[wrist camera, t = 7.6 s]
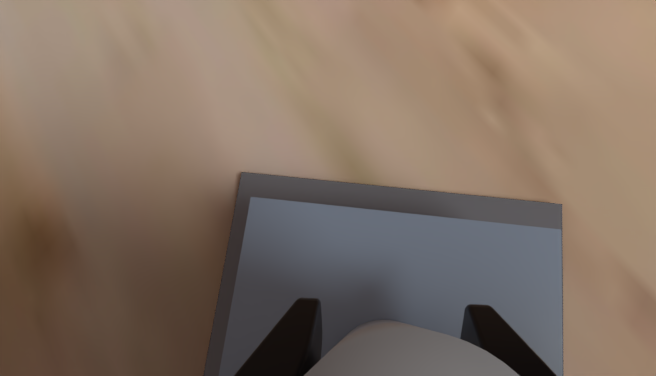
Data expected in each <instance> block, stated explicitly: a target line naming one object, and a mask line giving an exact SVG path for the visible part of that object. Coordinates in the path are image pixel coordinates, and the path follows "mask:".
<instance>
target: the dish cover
mask: <svg viewBox="0 0 656 376" xmlns="http://www.w3.org/2000/svg"><path fill="white" fill-rule="evenodd" d="M301 297H304V298H318V299H319V300H320V302H321V314H322V350H321V360H320V361H319V362H318V363H317V364H315V365H314V366H313V367H312V368H311V369H310V370H309V371H308V372H307V373H306V374H305V375H304V376H520V375H518V374H517V373H516V372H515V371H514V370H512V369H511V368H510V367H509V366H508V365H506V364H505V363H504V362H502V361H501V360H499V359H498V358H496V357H495V356H493V355H492V354H490V353H489V352H487V351H486V350H484V349H481V348H479V347H477V346H475V345H473V344H471V343H469V342H467V341H464V340H462V339H460V337H461V330H462V324H463V317H464V311H465V308H466V306H467V305H469V304H482V305H490V306H491V307H493V308H494V309H495V310H496V312H497V313H498V314H499V315H500V316H501V317H502V318H503V319H504V320H505V321H506V322H507V323H508V324H509V325H510V326H511V327H512V328H513V330H514V331H515V332H516V333H517V334H518V335H519V336H520V337H521V338H522V339H523V340H524V341H525V342H526V343H527V344H528V345H529V346H530V348H531V349H532V350H533V351H534V352H535V353H536V354H537V355H538V356H539V357H540V358H541V359H542V360H543V361H544V362H545V363H546V364H547V366H548V367H549V368H550V369H551V370H552V371H553V372H554V373H555V374H556V375H557V376H563V339H562V236H561V229H552V228H542V227H533V226H523V225H514V224H504V223H495V222H485V221H476V220H466V219H457V218H447V217H438V216H429V215H419V214H410V213H400V212H391V211H381V210H372V209H362V208H353V207H343V206H334V205H324V204H315V203H305V202H296V201H287V200H277V199H268V198H258V197H251V199H250V204H249V210H248V216H247V221H246V227H245V232H244V238H243V243H242V249H241V254H240V260H239V265H238V271H237V276H236V282H235V287H234V293H233V299H232V304H231V310H230V315H229V321H228V326H227V332H226V337H225V343H224V348H223V354H222V359H221V365H220V370H219V376H234V375H235V374H236V372H237V371H238V370H239V369H240V367H241V366H242V365H243V364H244V363H245V361H246V360H247V359H248V358H249V357H250V355H251V354H252V353H253V352H254V351H255V349H256V348H257V347H258V346H259V344H260V343H261V342H262V341H263V340H264V338H265V337H266V336H267V335H268V334H269V332H270V331H271V330H272V329H273V327H274V326H275V325H276V324H277V323H278V321H279V320H280V319H281V318H282V317H283V315H284V314H285V313H286V312H287V310H288V309H289V308H290V307H291V306H292V304H293V303H294V302H295V301H296V300H297V299H298V298H301Z"/></svg>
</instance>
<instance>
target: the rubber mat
mask: <svg viewBox="0 0 656 376" xmlns="http://www.w3.org/2000/svg"><path fill="white" fill-rule="evenodd" d="M251 197H258V198H268V199H277V200H287V201H296V202H305V203H315V204H324V205H334V206H343V207H353V208H362V209H372V210H381V211H391V212H400V213H410V214H419V215H429V216H438V217H447V218H457V219H466V220H476V221H485V222H495V223H504V224H514V225H523V226H533V227H542V228H552V229H561V236H562V204H555V203H545V202H535V201H525V200H515V199H505V198H495V197H485V196H475V195H465V194H455V193H445V192H435V191H425V190H415V189H405V188H395V187H385V186H375V185H365V184H355V183H345V182H335V181H325V180H315V179H305V178H295V177H285V176H275V175H265V174H255V173H245V172H242V173H241V178H240V184H239V189H238V194H237V200H236V205H235V210H234V216H233V221H232V226H231V232H230V237H229V242H228V248H227V253H226V258H225V264H224V269H223V274H222V280H221V285H220V290H219V296H218V301H217V306H216V312H215V317H214V322H213V328H212V333H211V338H210V344H209V349H208V354H207V360H206V365H205V370H204V376H219V370H220V365H221V359H222V354H223V348H224V343H225V337H226V332H227V326H228V321H229V315H230V310H231V304H232V299H233V293H234V287H235V282H236V276H237V271H238V265H239V260H240V254H241V249H242V243H243V238H244V232H245V227H246V221H247V216H248V210H249V204H250V199H251ZM562 339H563V266H562Z"/></svg>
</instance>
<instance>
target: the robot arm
mask: <svg viewBox="0 0 656 376" xmlns="http://www.w3.org/2000/svg"><path fill="white" fill-rule="evenodd" d="M460 339H462V340H464V341H467V342H469V343H471V344H473V345H475V346H477V347H479V348H481V349H484V350H486V351H487V352H489V353H490V354H492V355H493V356H495V357H496V358H498V359H499V360H501V361H502V362H504V363H505V364H506V365H508V366H509V367H510V368H511V369H512V370H514V371H515V372H516V373H517V374H518V375H520V376H557V375H556V374H555V373H554V372H553V371H552V370H551V369H550V368H549V367H548V366H547V364H546V363H545V362H544V361H543V360H542V359H541V358H540V357H539V356H538V355H537V354H536V353H535V352H534V351H533V350H532V349H531V348H530V346H529V345H528V344H527V343H526V342H525V341H524V340H523V339H522V338H521V337H520V336H519V335H518V334H517V333H516V332H515V331H514V330H513V328H512V327H511V326H510V325H509V324H508V323H507V322H506V321H505V320H504V319H503V318H502V317H501V316H500V315H499V314H498V313H497V312H496V310H495V309H494V308H493V307H491V306H490V305H482V304H469V305H467V306H466V308H465V311H464V317H463V324H462V330H461V337H460ZM321 350H322V314H321V302H320V300H319V299H318V298H304V297H301V298H298V299H297V300H296V301H295V302H294V303H293V304H292V306H291V307H290V308H289V309H288V310H287V312H286V313H285V314H284V315H283V317H282V318H281V319H280V320H279V321H278V323H277V324H276V325H275V326H274V327H273V329H272V330H271V331H270V332H269V334H268V335H267V336H266V337H265V338H264V340H263V341H262V342H261V343H260V344H259V346H258V347H257V348H256V349H255V351H254V352H253V353H252V354H251V355H250V357H249V358H248V359H247V360H246V361H245V363H244V364H243V365H242V366H241V367H240V369H239V370H238V371H237V372H236V374H235V375H234V376H304V375H305V374H306V373H307V372H308V371H309V370H310V369H311V368H312V367H313V366H314V365H315V364H317V363H318V362H319V361H320V360H321Z"/></svg>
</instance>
